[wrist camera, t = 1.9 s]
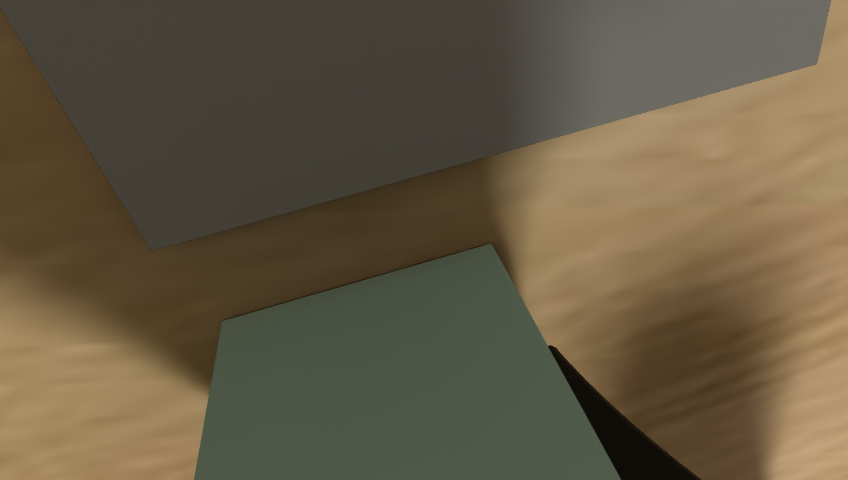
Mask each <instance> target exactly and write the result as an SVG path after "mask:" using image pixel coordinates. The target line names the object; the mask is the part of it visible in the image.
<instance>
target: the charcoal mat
mask: <svg viewBox="0 0 848 480" xmlns="http://www.w3.org/2000/svg"><path fill="white" fill-rule="evenodd" d="M830 3H831V0H0V9H1V10H2V12H3V13H4V15H5V17H6V18H7V20H8V21H9V23H10V25H11V26H12V28H13V29H14V31H15V33H16V34H17V36H18V37H19V39H20V41H21V42H22V44H23V45H24V47H25V49H26V50H27V52H28V53H29V55H30V57H31V58H32V60H33V61H34V63H35V65H36V66H37V68H38V69H39V71H40V73H41V74H42V76H43V77H44V79H45V81H46V82H47V84H48V85H49V87H50V89H51V90H52V92H53V93H54V95H55V97H56V98H57V100H58V101H59V103H60V105H61V106H62V108H63V109H64V111H65V113H66V114H67V116H68V117H69V119H70V121H71V122H72V124H73V125H74V127H75V129H76V130H77V132H78V133H79V135H80V137H81V138H82V140H83V141H84V143H85V145H86V146H87V148H88V149H89V151H90V153H91V154H92V156H93V157H94V159H95V161H96V162H97V164H98V165H99V167H100V169H101V170H102V172H103V173H104V175H105V177H106V178H107V180H108V181H109V183H110V185H111V186H112V188H113V189H114V191H115V193H116V194H117V196H118V197H119V199H120V201H121V202H122V204H123V205H124V207H125V209H126V210H127V212H128V213H129V215H130V217H131V218H132V220H133V221H134V223H135V225H136V226H137V228H138V229H139V231H140V233H141V234H142V236H143V237H144V239H145V241H146V242H147V244H148V245H149V247H150V249H151V250H152V251H153V250H157V249H160V248H164V247H168V246H171V245H175V244H178V243H182V242H185V241H189V240H192V239H196V238H200V237H203V236H207V235H210V234H214V233H217V232H221V231H225V230H228V229H232V228H235V227H239V226H242V225H246V224H249V223H253V222H257V221H260V220H264V219H267V218H271V217H274V216H278V215H282V214H285V213H289V212H292V211H296V210H299V209H303V208H306V207H310V206H314V205H317V204H321V203H324V202H328V201H331V200H335V199H338V198H342V197H346V196H349V195H353V194H356V193H360V192H363V191H367V190H371V189H374V188H378V187H381V186H385V185H388V184H392V183H395V182H399V181H403V180H406V179H410V178H413V177H417V176H420V175H424V174H428V173H431V172H435V171H438V170H442V169H445V168H449V167H452V166H456V165H460V164H463V163H467V162H470V161H474V160H477V159H481V158H484V157H488V156H492V155H495V154H499V153H502V152H506V151H509V150H513V149H517V148H520V147H524V146H527V145H531V144H534V143H538V142H541V141H545V140H549V139H552V138H556V137H559V136H563V135H566V134H570V133H574V132H577V131H581V130H584V129H588V128H591V127H595V126H598V125H602V124H606V123H609V122H613V121H616V120H620V119H623V118H627V117H631V116H634V115H638V114H641V113H645V112H648V111H652V110H655V109H659V108H663V107H666V106H670V105H673V104H677V103H680V102H684V101H687V100H691V99H695V98H698V97H702V96H705V95H709V94H712V93H716V92H720V91H723V90H727V89H730V88H734V87H737V86H741V85H744V84H748V83H752V82H755V81H759V80H762V79H766V78H769V77H773V76H777V75H780V74H784V73H787V72H791V71H794V70H798V69H801V68H805V67H809V66H812V65H816V64H817V62H818V57H819V53H820V48H821V44H822V39H823V35H824V30H825V26H826V21H827V16H828V12H829V7H830Z"/></svg>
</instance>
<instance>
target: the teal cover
mask: <svg viewBox="0 0 848 480" xmlns="http://www.w3.org/2000/svg"><path fill="white" fill-rule="evenodd" d="M194 480H621V479H620V477H619V475H618V473H617V471H616V470H615V468H614V466H613V464H612V462H611V460H610V459H609V457H608V455H607V453H606V451H605V450H604V448H603V446H602V444H601V442H600V440H599V439H598V437H597V435H596V433H595V431H594V429H593V428H592V426H591V424H590V422H589V420H588V419H587V417H586V415H585V413H584V411H583V409H582V408H581V406H580V404H579V402H578V400H577V398H576V397H575V395H574V393H573V391H572V389H571V388H570V386H569V384H568V382H567V380H566V378H565V377H564V375H563V373H562V371H561V369H560V368H559V366H558V364H557V362H556V360H555V358H554V357H553V355H552V353H551V351H550V349H549V347H548V346H547V344H546V342H545V340H544V338H543V337H542V335H541V333H540V331H539V329H538V327H537V326H536V324H535V322H534V320H533V318H532V317H531V315H530V313H529V311H528V309H527V307H526V306H525V304H524V302H523V300H522V298H521V296H520V295H519V293H518V291H517V289H516V287H515V286H514V284H513V282H512V280H511V278H510V276H509V275H508V273H507V271H506V269H505V267H504V266H503V264H502V262H501V260H500V258H499V256H498V255H497V253H496V251H495V249H494V247H493V245H492V244H487V245H484V246H480V247H477V248H473V249H470V250H467V251H463V252H460V253H456V254H453V255H449V256H446V257H442V258H439V259H435V260H432V261H428V262H425V263H422V264H418V265H415V266H411V267H408V268H404V269H401V270H397V271H394V272H390V273H387V274H383V275H380V276H377V277H373V278H370V279H366V280H363V281H359V282H356V283H352V284H349V285H345V286H342V287H338V288H335V289H331V290H328V291H325V292H321V293H318V294H314V295H311V296H307V297H304V298H300V299H297V300H293V301H290V302H286V303H283V304H280V305H276V306H273V307H269V308H266V309H262V310H259V311H255V312H252V313H248V314H245V315H241V316H238V317H235V318H231V319H228V320H224V321H222V324H221V330H220V335H219V341H218V347H217V353H216V358H215V364H214V370H213V375H212V381H211V387H210V392H209V398H208V404H207V409H206V415H205V421H204V427H203V432H202V438H201V444H200V449H199V455H198V461H197V466H196V472H195V478H194Z"/></svg>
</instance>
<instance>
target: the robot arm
mask: <svg viewBox="0 0 848 480" xmlns="http://www.w3.org/2000/svg"><path fill="white" fill-rule="evenodd" d="M548 347H549V349H550V351H551V353H552V355H553V357H554V358H555V360H556V362H557V364H558V366H559V368H560V369H561V371H562V373H563V375H564V377H565V378H566V380H567V382H568V384H569V386H570V388H571V389H572V391H573V393H574V395H575V397H576V398H577V400H578V402H579V404H580V406H581V408H582V409H583V411H584V413H585V415H586V417H587V419H588V420H589V422H590V424H591V426H592V428H593V429H594V431H595V433H596V435H597V437H598V439H599V440H600V442H601V444H602V446H603V448H604V450H605V451H606V453H607V455H608V457H609V459H610V460H611V462H612V464H613V466H614V468H615V470H616V471H617V473H618V475H619V477H620V479H621V480H701V479H700V478H699V477H697V476H696V475H695V474H693V473H692V472H691V471H689V470H688V469H687V468H686V467H684V466H683V465H682V464H680V463H679V462H678V461H677V460H675V459H674V458H673V457H672V456H670V455H669V454H668V453H667V452H666V451H664V450H663V449H662V448H661V447H659V446H658V445H657V444H656V443H654V442H653V441H652V440H651V439H650V438H649V437H647V436H646V435H645V434H644V433H643V432H642V431H640V430H639V429H638V428H637V427H636V426H635V425H634V424H632V423H631V422H630V421H629V420H628V419H627V418H626V417H625V416H624V415H622V414H621V413H620V412H619V411H618V410H617V409H616V408H615V407H613V406H612V405H611V404H610V403H609V402H608V401H607V400H606V399H605V398H604V397H603V396H602V395H601V394H600V393H599V392H598V391H597V390H596V389H595V388H594V387H593V386H591V385H590V384H589V383H588V382H587V381H586V380H585V379H584V378H583V377H582V376H581V374H580V373H579V372H578V371H577V370H576V369H575V368H574V367H573V366H572V365H571V364H570V363H569V362H568V361H567V360H566V359H565V357H564V356H563V355H562V354H561V353H560V352H559V351H558V350H557V348H556V347H553V346H551V345H550V346H548Z"/></svg>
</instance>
